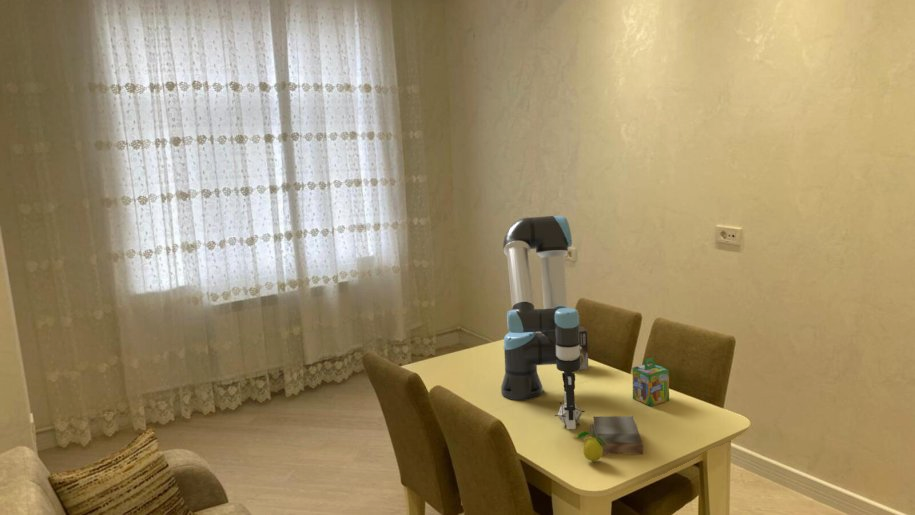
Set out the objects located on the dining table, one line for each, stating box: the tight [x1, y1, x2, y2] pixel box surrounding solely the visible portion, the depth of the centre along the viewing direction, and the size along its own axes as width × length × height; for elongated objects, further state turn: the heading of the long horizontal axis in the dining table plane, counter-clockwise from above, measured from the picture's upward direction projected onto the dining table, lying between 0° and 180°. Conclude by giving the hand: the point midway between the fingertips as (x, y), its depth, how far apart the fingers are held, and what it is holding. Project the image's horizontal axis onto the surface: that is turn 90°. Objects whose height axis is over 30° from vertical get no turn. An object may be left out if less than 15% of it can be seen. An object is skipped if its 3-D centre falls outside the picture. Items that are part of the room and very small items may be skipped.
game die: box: [554, 401, 586, 429], centre depth 216 cm, size 9×8×10 cm
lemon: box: [576, 429, 607, 463], centre depth 191 cm, size 7×6×10 cm
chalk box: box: [631, 357, 670, 407], centre depth 232 cm, size 9×9×15 cm
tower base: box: [589, 415, 644, 455], centre depth 202 cm, size 14×14×6 cm
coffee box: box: [578, 325, 589, 371], centre depth 267 cm, size 9×6×16 cm
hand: (569, 419), depth 216 cm, fingers open, 13 cm apart
